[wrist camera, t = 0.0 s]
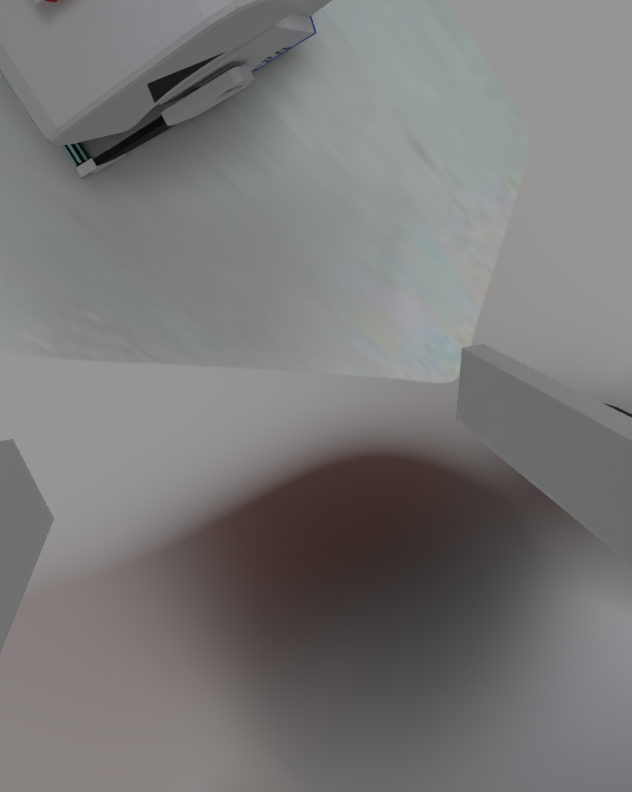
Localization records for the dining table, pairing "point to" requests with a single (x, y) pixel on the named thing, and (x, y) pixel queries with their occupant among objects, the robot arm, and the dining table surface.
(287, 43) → the robotic device
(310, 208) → the dining table surface
